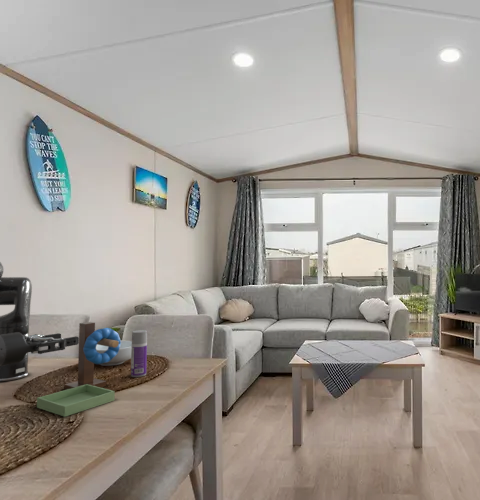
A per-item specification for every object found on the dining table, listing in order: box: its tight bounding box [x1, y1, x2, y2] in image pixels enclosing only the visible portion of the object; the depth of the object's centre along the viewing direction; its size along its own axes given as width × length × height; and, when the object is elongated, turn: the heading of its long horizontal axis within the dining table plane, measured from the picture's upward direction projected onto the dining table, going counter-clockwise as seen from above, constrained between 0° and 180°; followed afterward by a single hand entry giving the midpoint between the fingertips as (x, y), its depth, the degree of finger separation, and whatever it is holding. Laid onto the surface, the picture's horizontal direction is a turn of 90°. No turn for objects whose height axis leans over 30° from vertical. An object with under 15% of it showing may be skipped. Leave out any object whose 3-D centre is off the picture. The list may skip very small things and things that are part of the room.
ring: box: [83, 327, 121, 365], centre depth 118 cm, size 3×11×10 cm, turn 154°
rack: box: [63, 321, 119, 390], centre depth 120 cm, size 18×8×20 cm, turn 64°
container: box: [130, 329, 148, 378], centre depth 135 cm, size 5×5×15 cm
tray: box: [36, 384, 116, 418], centre depth 108 cm, size 13×13×3 cm
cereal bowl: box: [96, 339, 132, 367], centre depth 149 cm, size 17×17×7 cm
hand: (69, 338), depth 110 cm, fingers open, 8 cm apart
